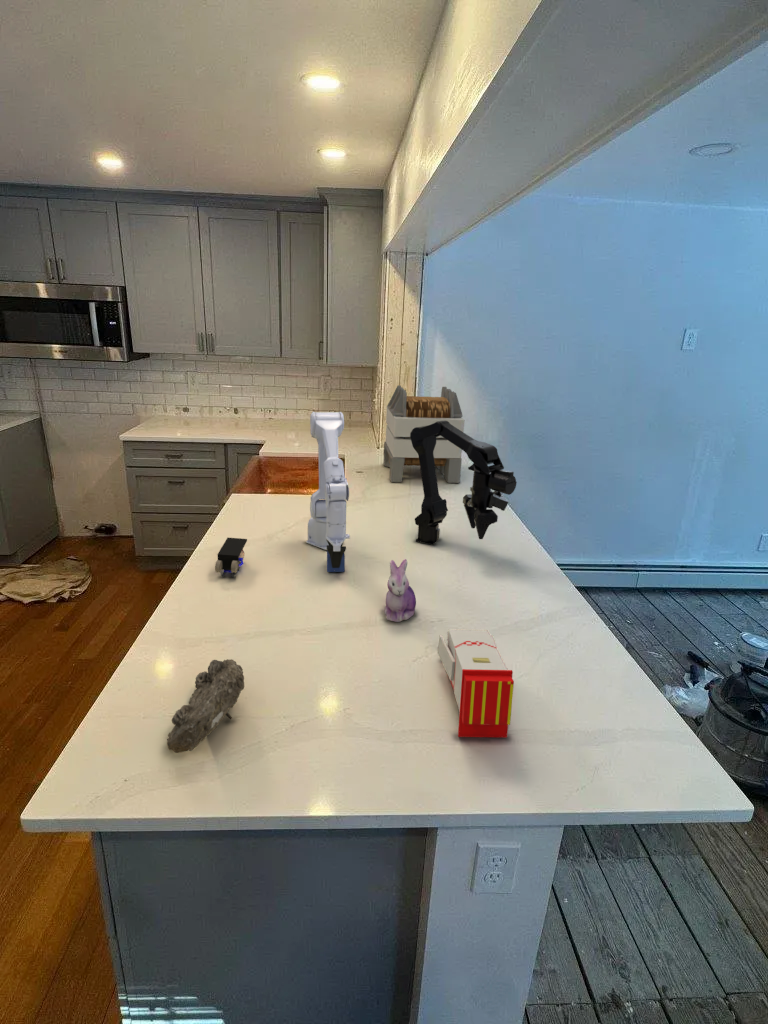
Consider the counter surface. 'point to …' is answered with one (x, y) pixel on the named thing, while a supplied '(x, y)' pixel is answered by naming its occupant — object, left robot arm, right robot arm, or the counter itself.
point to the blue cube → (330, 569)
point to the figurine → (399, 594)
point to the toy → (478, 682)
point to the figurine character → (230, 556)
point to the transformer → (418, 413)
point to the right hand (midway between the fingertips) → (476, 533)
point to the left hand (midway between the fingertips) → (335, 563)
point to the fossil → (206, 705)
